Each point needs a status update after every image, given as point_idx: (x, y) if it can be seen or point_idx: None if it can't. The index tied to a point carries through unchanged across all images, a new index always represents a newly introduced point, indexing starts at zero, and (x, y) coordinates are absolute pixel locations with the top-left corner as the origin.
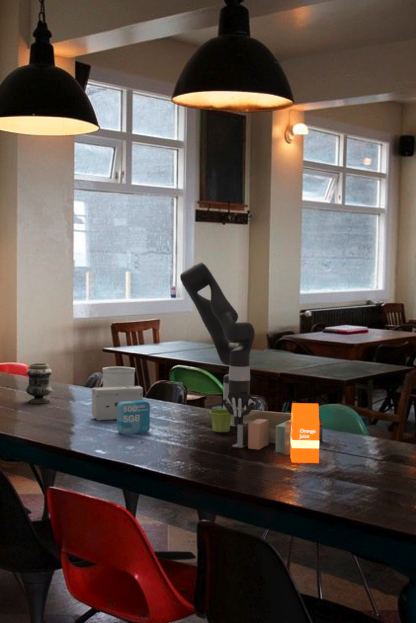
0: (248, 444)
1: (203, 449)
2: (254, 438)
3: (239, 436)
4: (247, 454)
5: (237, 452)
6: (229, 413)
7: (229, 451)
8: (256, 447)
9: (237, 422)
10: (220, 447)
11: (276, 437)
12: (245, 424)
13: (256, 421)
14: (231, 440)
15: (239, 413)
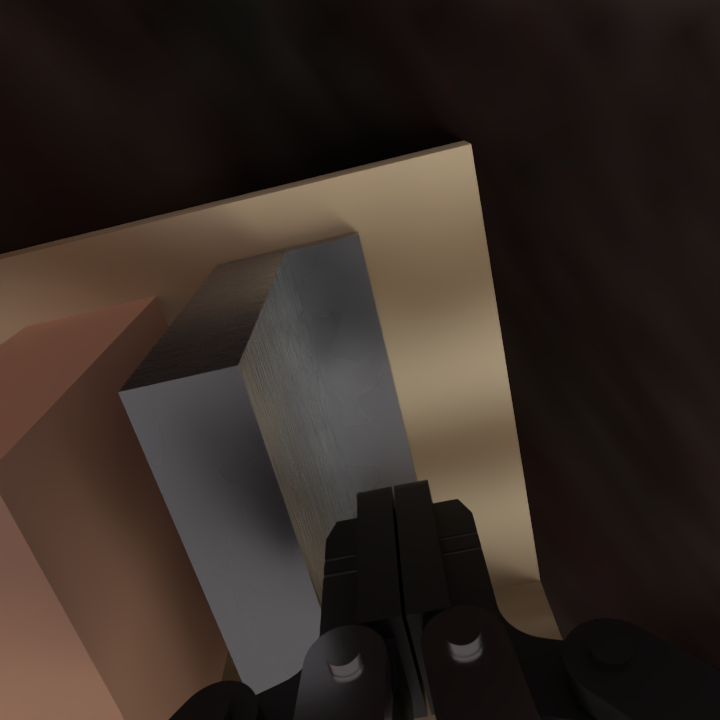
0: (138, 312)
1: (691, 9)
2: (15, 367)
3: (236, 299)
4: (81, 173)
5: (240, 179)
6: (639, 628)
7: (348, 156)
8: (42, 328)
9: (394, 533)
10: (563, 258)
11: None
12: (170, 505)
13: (12, 667)
14: (640, 575)
15: (345, 699)
